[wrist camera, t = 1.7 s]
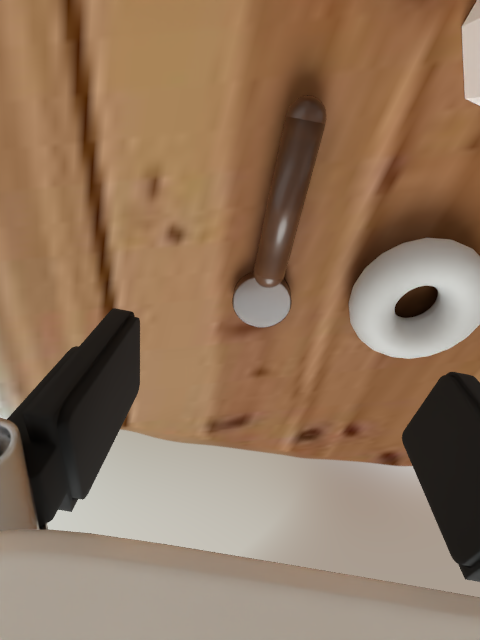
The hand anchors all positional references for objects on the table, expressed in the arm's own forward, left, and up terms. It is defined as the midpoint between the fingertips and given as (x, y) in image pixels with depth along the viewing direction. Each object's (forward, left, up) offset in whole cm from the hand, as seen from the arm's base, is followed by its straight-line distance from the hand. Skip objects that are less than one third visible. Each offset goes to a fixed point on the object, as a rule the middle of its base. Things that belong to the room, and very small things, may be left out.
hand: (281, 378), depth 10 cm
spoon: (+1, 0, -16) cm, 16 cm away
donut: (+3, +12, -16) cm, 20 cm away
